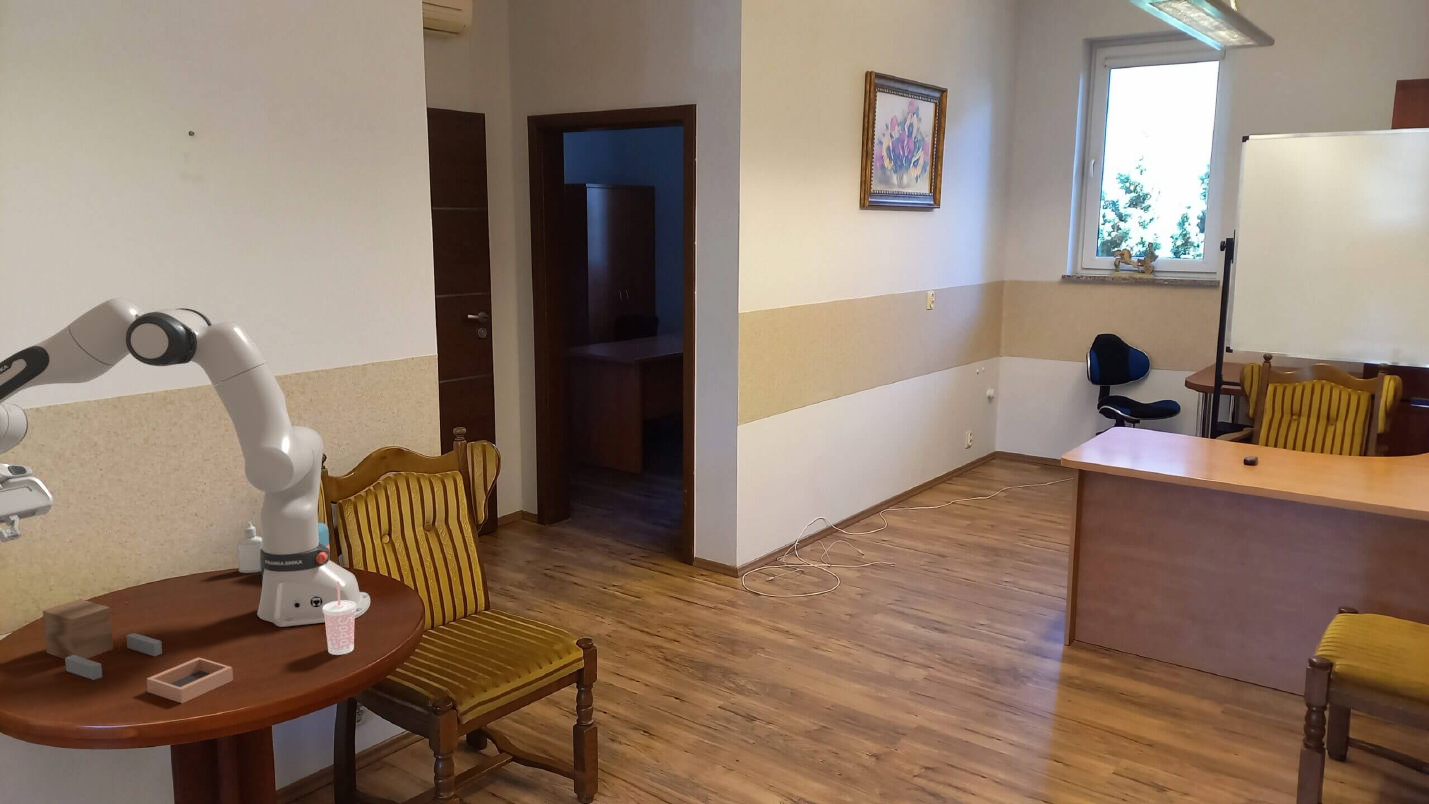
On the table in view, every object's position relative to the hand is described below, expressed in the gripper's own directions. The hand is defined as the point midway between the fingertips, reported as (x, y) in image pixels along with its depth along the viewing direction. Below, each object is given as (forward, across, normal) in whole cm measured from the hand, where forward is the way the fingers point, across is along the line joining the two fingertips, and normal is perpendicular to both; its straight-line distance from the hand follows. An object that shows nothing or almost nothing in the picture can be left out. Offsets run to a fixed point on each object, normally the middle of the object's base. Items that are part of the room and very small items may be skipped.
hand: (12, 539), depth 190 cm
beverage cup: (+57, +24, -30) cm, 69 cm away
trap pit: (+49, 0, -22) cm, 54 cm away
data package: (+28, +52, -1) cm, 59 cm away
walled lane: (+34, 0, -7) cm, 35 cm away
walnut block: (+27, 0, 0) cm, 27 cm away
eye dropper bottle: (+20, +47, +7) cm, 51 cm away
